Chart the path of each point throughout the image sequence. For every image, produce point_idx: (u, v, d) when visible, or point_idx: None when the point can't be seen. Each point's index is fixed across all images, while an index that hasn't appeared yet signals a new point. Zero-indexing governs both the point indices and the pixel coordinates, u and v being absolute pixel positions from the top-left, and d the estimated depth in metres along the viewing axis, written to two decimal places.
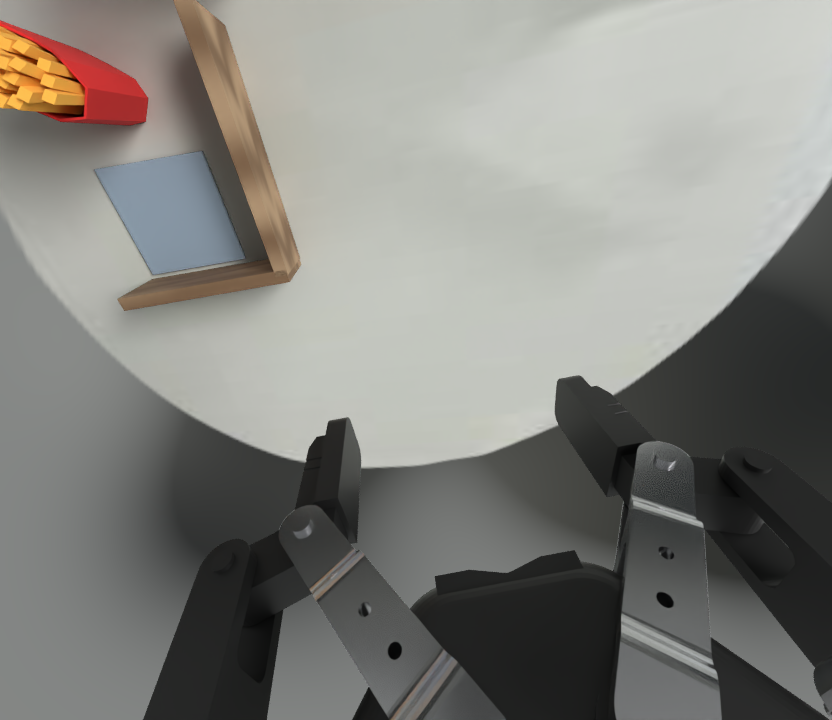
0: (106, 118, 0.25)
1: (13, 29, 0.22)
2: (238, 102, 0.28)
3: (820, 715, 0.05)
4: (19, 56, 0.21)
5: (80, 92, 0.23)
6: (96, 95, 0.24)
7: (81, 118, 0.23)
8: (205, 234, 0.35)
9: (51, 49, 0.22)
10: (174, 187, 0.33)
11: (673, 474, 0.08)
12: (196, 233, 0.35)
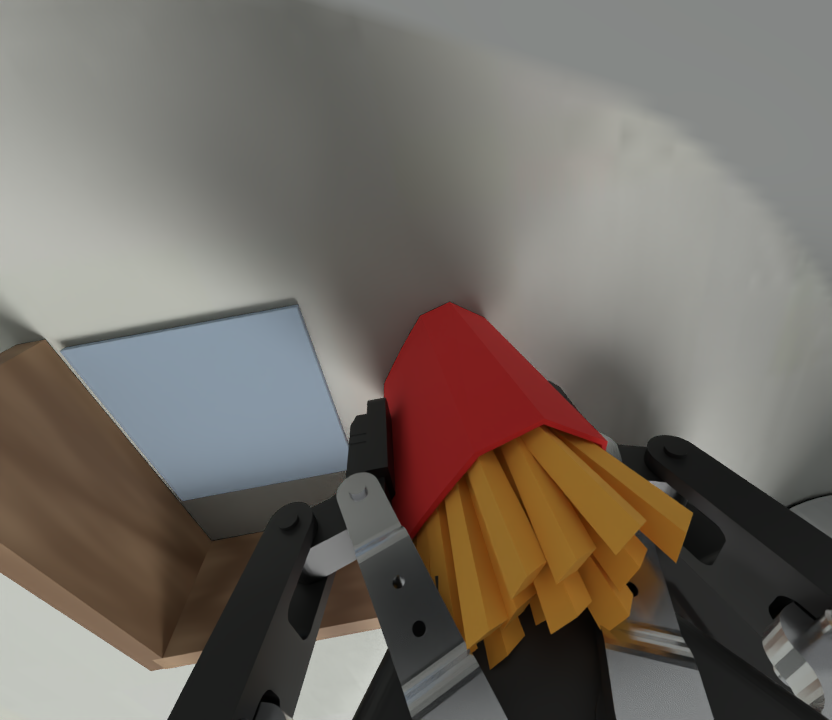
0: None
1: None
2: None
3: (820, 715, 0.05)
4: None
5: None
6: None
7: None
8: (210, 455, 0.18)
9: None
10: (289, 427, 0.18)
11: None
12: (208, 444, 0.18)
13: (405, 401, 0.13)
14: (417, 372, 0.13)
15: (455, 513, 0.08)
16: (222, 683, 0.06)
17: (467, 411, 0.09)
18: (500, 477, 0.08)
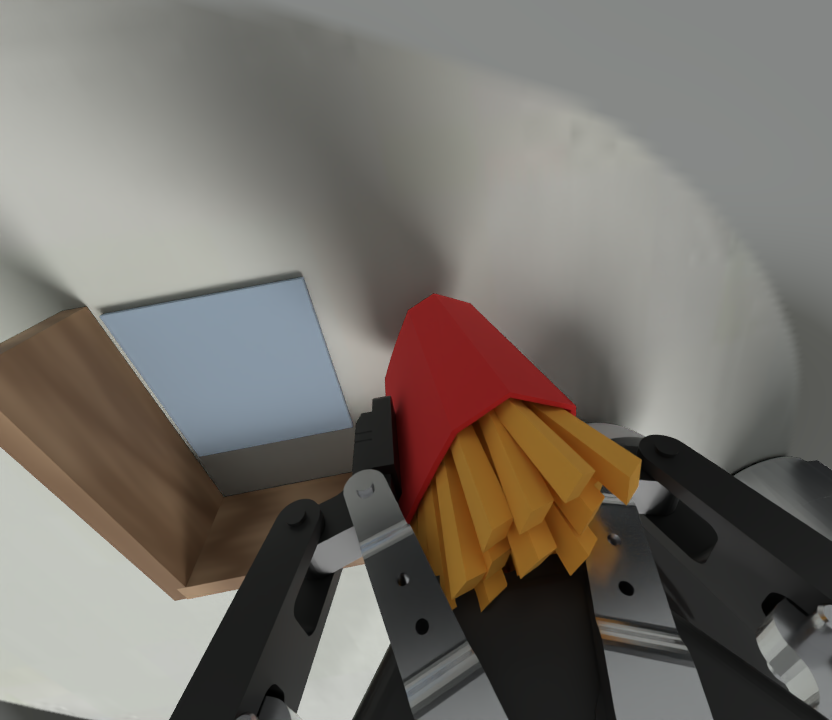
0: None
1: None
2: None
3: (820, 715, 0.05)
4: None
5: None
6: None
7: None
8: (225, 413, 0.21)
9: None
10: (295, 388, 0.20)
11: None
12: (224, 403, 0.20)
13: (400, 393, 0.14)
14: (408, 364, 0.14)
15: (443, 487, 0.09)
16: (228, 676, 0.06)
17: (446, 394, 0.10)
18: (477, 450, 0.08)
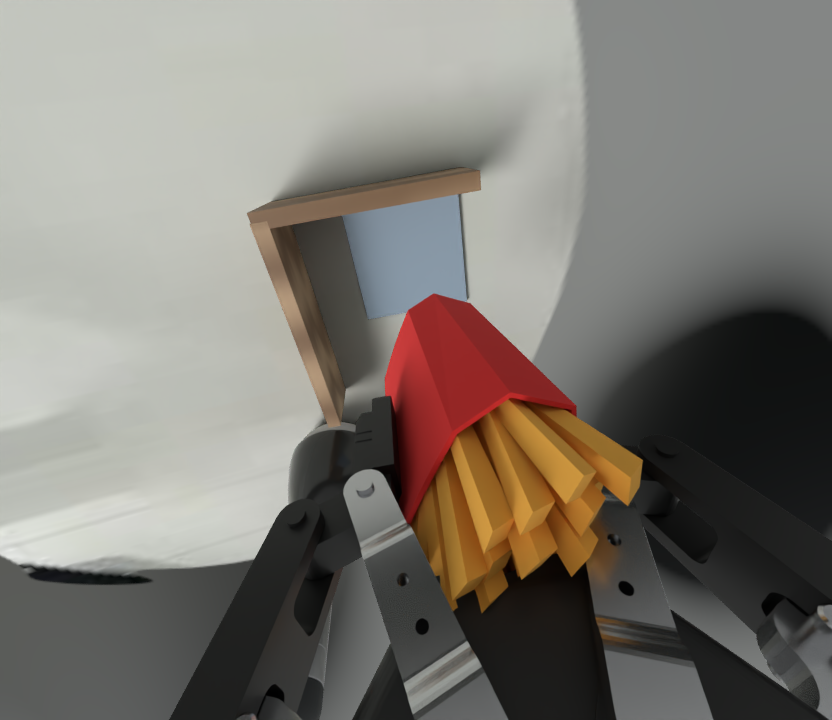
0: None
1: None
2: None
3: (820, 715, 0.05)
4: None
5: None
6: None
7: None
8: (382, 242, 0.31)
9: None
10: (401, 288, 0.33)
11: None
12: (391, 244, 0.31)
13: (400, 393, 0.14)
14: (407, 364, 0.14)
15: (443, 488, 0.09)
16: (228, 676, 0.06)
17: (447, 394, 0.10)
18: (477, 450, 0.08)
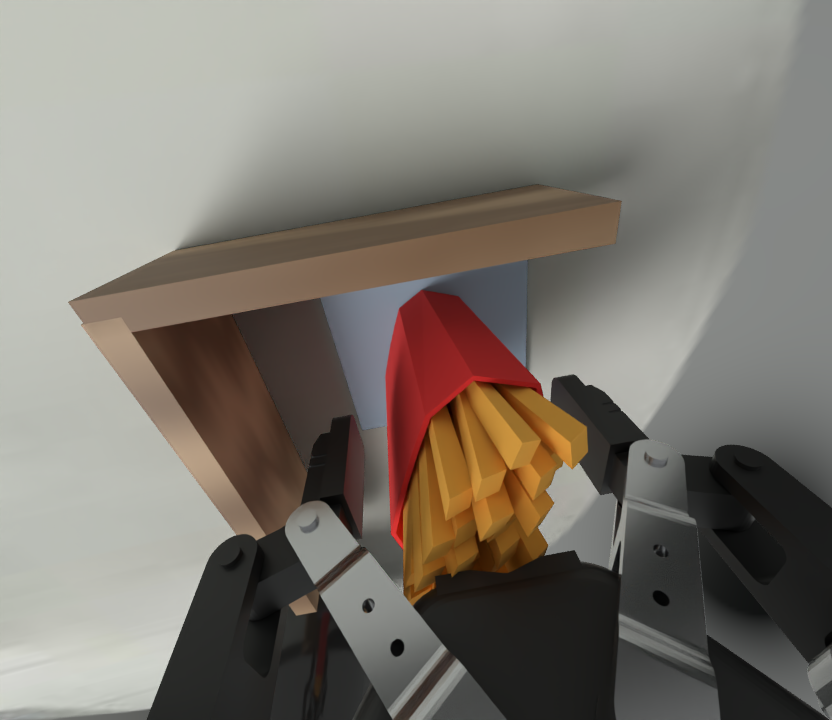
0: None
1: None
2: None
3: (820, 715, 0.05)
4: None
5: None
6: None
7: None
8: (387, 316, 0.17)
9: None
10: None
11: (664, 472, 0.09)
12: None
13: (394, 387, 0.15)
14: (398, 359, 0.14)
15: (423, 469, 0.09)
16: None
17: (423, 383, 0.10)
18: (448, 431, 0.09)
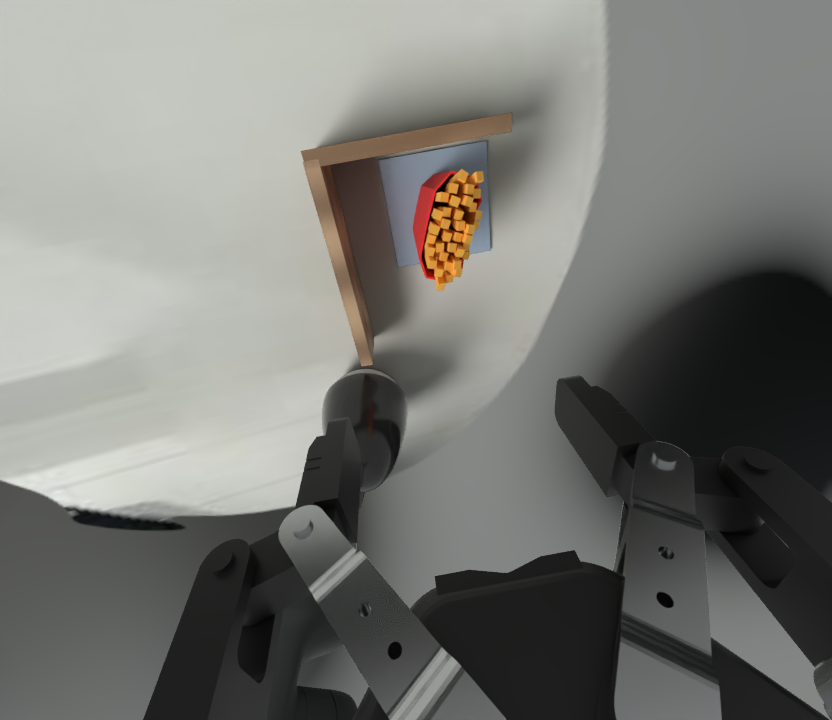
0: (424, 266, 0.31)
1: None
2: None
3: (820, 715, 0.05)
4: None
5: None
6: None
7: (425, 274, 0.28)
8: (415, 190, 0.33)
9: None
10: None
11: (673, 474, 0.08)
12: None
13: (419, 214, 0.31)
14: (421, 201, 0.30)
15: (433, 212, 0.25)
16: None
17: (433, 186, 0.26)
18: None
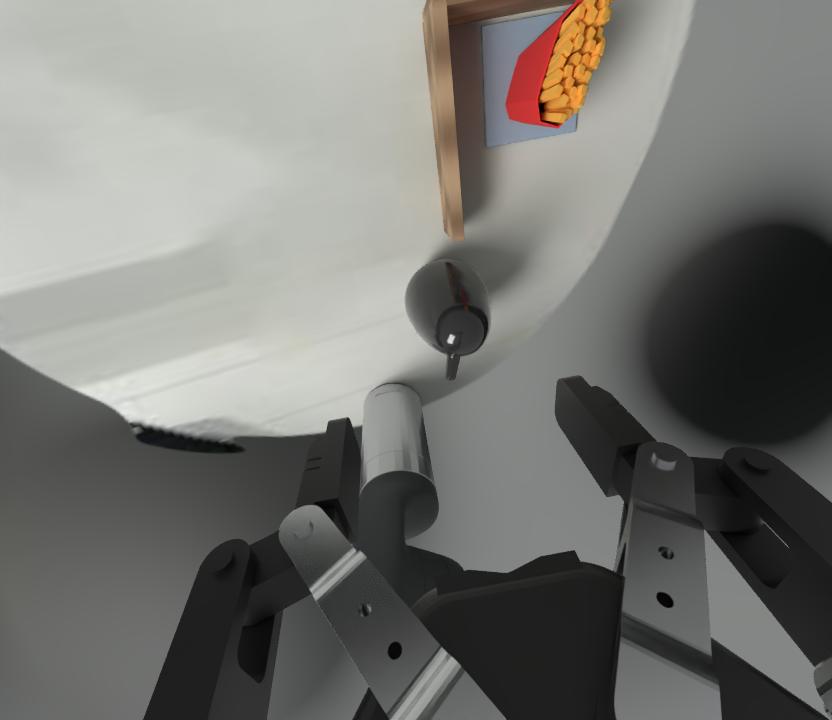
0: (530, 122, 0.32)
1: None
2: (444, 184, 0.37)
3: (820, 715, 0.05)
4: (578, 84, 0.28)
5: None
6: (550, 126, 0.31)
7: (539, 118, 0.30)
8: (512, 61, 0.35)
9: None
10: None
11: (673, 474, 0.08)
12: None
13: (524, 73, 0.32)
14: (526, 60, 0.32)
15: (558, 41, 0.27)
16: None
17: (555, 23, 0.28)
18: None
